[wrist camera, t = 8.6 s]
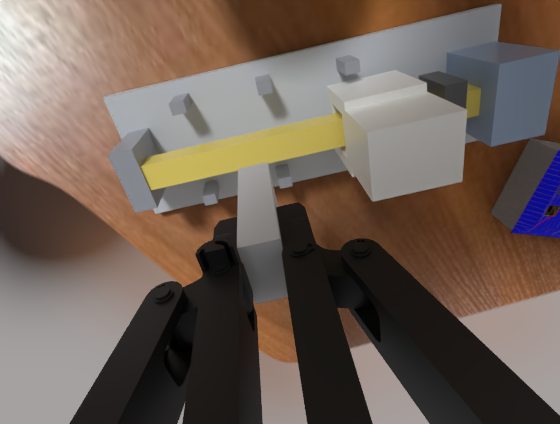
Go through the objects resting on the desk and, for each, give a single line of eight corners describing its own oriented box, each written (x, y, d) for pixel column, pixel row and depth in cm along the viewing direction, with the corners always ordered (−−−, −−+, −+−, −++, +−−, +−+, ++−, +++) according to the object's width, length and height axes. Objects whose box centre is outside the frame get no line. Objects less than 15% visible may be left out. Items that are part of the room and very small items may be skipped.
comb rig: (157, 209, 31) (136, 257, 25) (106, 95, 26) (65, 121, 20) (482, 135, 30) (541, 167, 24) (494, 3, 25) (573, 2, 19)
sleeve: (335, 150, 28) (373, 209, 20) (326, 85, 25) (366, 122, 17) (397, 136, 28) (461, 189, 20) (395, 70, 25) (467, 99, 17)
